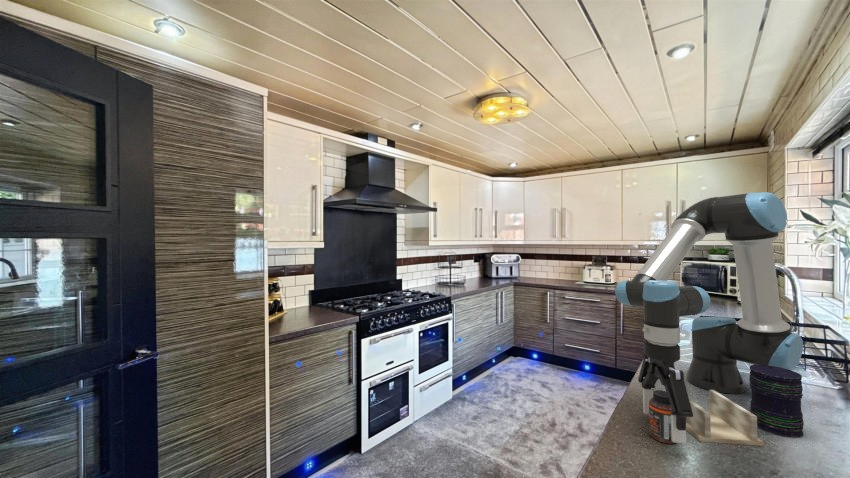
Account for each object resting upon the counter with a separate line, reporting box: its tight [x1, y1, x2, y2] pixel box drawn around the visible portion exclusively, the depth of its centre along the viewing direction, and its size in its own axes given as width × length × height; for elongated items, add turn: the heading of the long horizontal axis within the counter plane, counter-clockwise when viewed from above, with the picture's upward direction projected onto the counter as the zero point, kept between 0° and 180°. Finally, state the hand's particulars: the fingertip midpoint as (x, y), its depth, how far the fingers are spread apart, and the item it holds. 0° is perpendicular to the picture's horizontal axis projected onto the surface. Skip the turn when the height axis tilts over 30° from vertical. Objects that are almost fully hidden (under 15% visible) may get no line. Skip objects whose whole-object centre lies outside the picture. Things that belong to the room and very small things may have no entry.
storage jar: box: [748, 364, 805, 439], centre depth 90 cm, size 10×10×15 cm
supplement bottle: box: [648, 389, 676, 445], centre depth 85 cm, size 6×6×11 cm
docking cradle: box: [686, 390, 765, 447], centre depth 90 cm, size 15×14×7 cm
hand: (662, 426), depth 85 cm, fingers open, 13 cm apart
